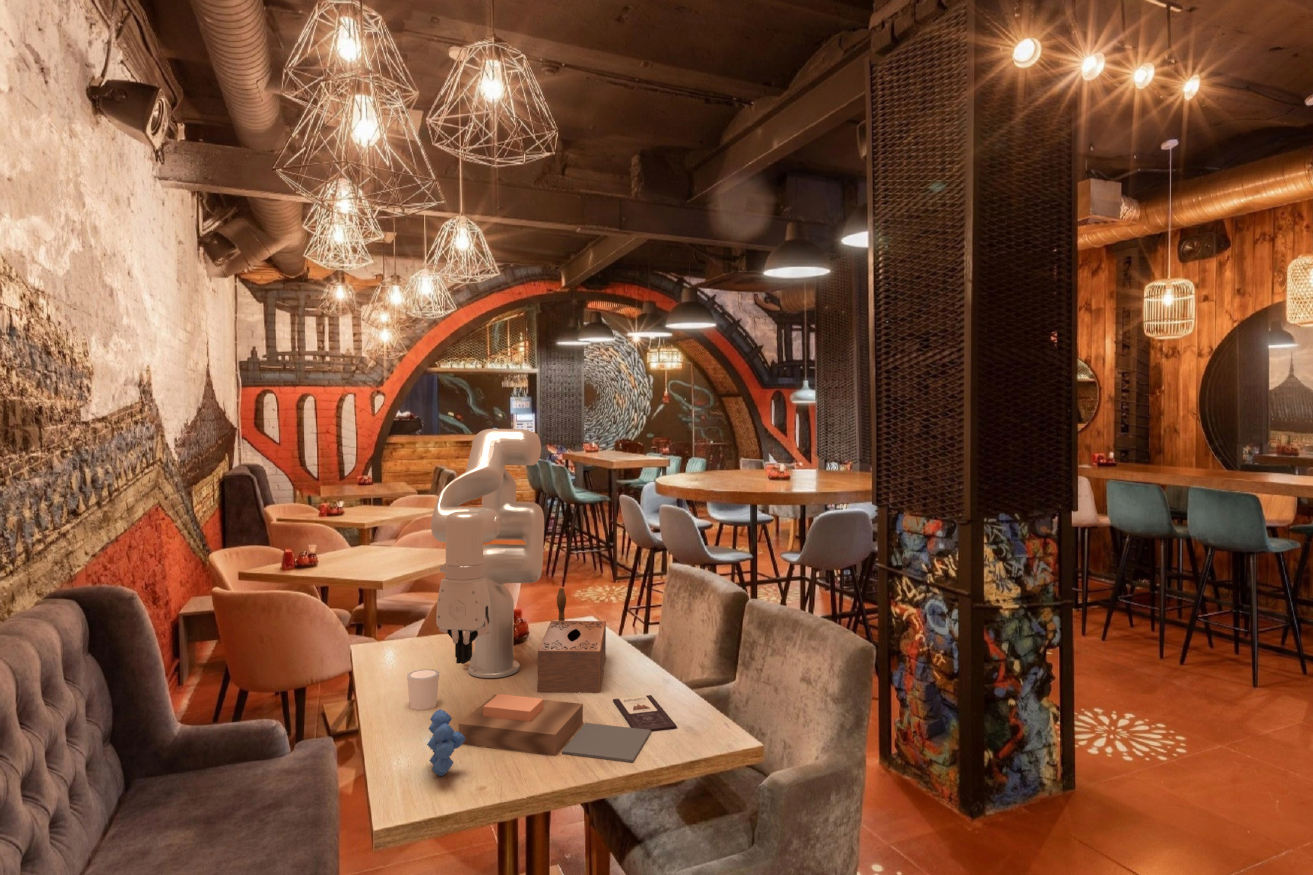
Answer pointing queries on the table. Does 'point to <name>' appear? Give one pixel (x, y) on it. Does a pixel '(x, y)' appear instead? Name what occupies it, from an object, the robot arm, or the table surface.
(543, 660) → the tissue box cover
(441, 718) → the grapes
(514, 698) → the orange flat block
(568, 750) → the mat
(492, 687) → the table surface
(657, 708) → the chocolate bar
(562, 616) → the hand bell
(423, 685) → the pale tapered cup
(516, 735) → the stand
